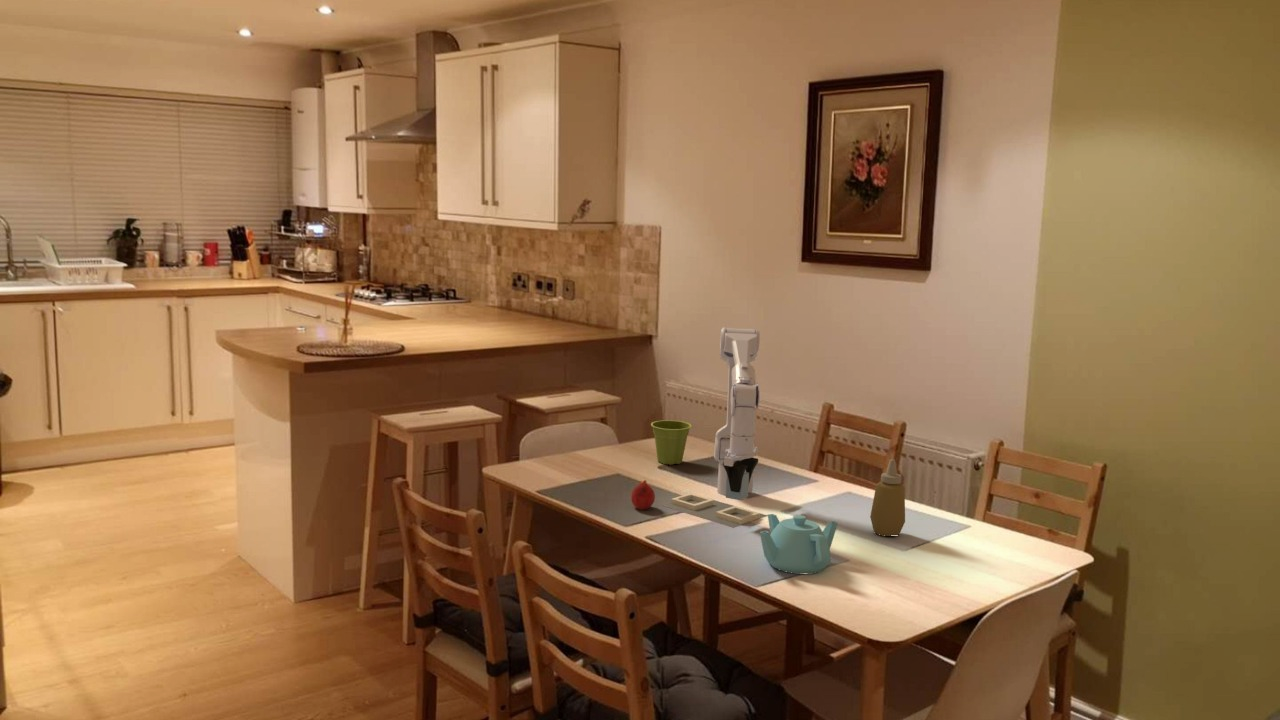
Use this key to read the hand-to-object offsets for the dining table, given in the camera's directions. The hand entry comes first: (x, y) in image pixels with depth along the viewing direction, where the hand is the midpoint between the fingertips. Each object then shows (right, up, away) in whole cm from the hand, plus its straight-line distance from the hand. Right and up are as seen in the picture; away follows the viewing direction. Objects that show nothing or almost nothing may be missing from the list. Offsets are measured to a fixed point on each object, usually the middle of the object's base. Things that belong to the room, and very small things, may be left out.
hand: (739, 489), depth 243 cm
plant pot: (-15, +1, +54) cm, 56 cm away
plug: (-1, -2, +1) cm, 2 cm away
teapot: (+10, -13, -26) cm, 31 cm away
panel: (-6, -7, +6) cm, 11 cm away
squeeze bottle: (+35, -10, -3) cm, 36 cm away
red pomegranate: (-23, -6, +6) cm, 25 cm away
